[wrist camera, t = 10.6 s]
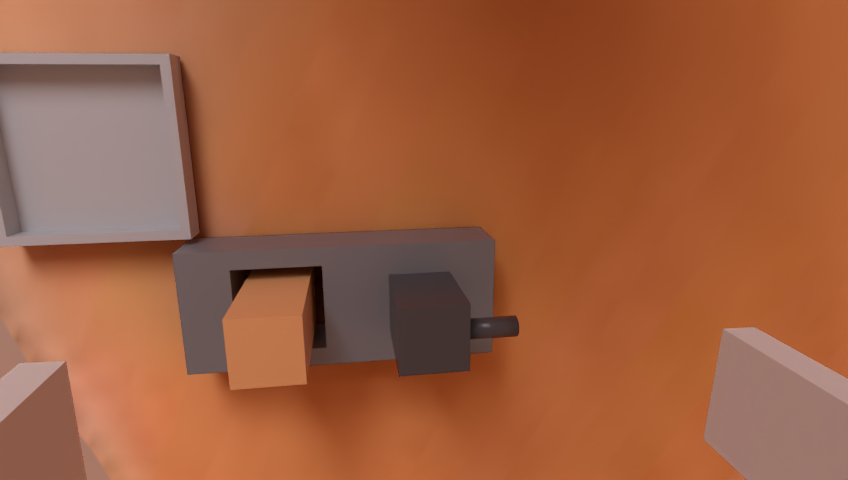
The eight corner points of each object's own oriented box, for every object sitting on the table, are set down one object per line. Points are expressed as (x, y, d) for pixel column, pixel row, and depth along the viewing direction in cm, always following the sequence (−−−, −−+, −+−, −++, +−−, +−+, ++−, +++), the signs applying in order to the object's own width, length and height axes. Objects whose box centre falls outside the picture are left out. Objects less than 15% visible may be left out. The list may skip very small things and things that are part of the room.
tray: (-20, 55, 31) (-44, 52, 29) (179, 57, 33) (169, 53, 31) (17, 239, 34) (-3, 246, 32) (199, 232, 35) (191, 239, 33)
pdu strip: (190, 238, 35) (133, 286, 26) (479, 226, 38) (525, 266, 28) (204, 347, 37) (154, 429, 28) (478, 328, 40) (519, 398, 30)
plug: (254, 264, 36) (222, 319, 27) (313, 261, 37) (301, 314, 27) (259, 318, 37) (229, 390, 28) (316, 314, 38) (306, 384, 28)
